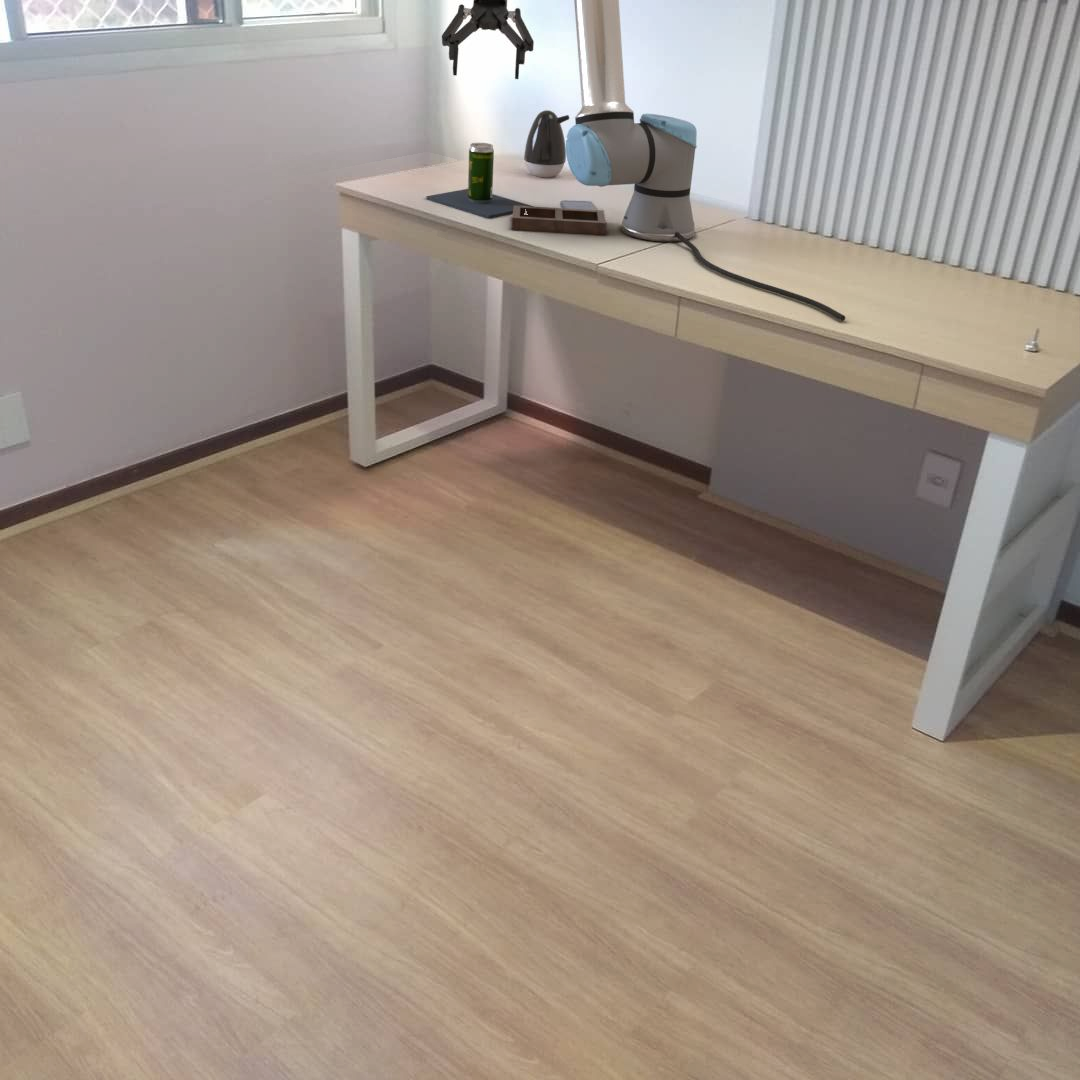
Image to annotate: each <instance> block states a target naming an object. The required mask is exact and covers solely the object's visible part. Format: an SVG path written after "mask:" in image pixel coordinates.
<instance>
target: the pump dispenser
mask: <svg viewBox="0 0 1080 1080" xmlns="http://www.w3.org/2000/svg"><path fill="white" fill-rule="evenodd" d="M569 120H570V115H569V114H566V115H562V116H559V117H558V116H557V114H556V113H555V112H554V111H552V110H548V109H545V110H543V111H540V112H539V113H538V114H537V115H536V117H535V118H534V120H533V122H532V124H531V127H530V130H529V131H528V135H527V139H526V143H525V147H524V153H523V160H524V162H525V166H526V169H527V170H528V172H529V173H530V174H531V175H533V176H535V177H537V178H547V179H548V178H553V177H556V176H558V175H559V174H560V173H561V172H562V170H563V168H564V165H565V163H566V161H567V156H566V139H565V136H564V131H563V128H562V123H564V122H566V121H569Z"/></svg>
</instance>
